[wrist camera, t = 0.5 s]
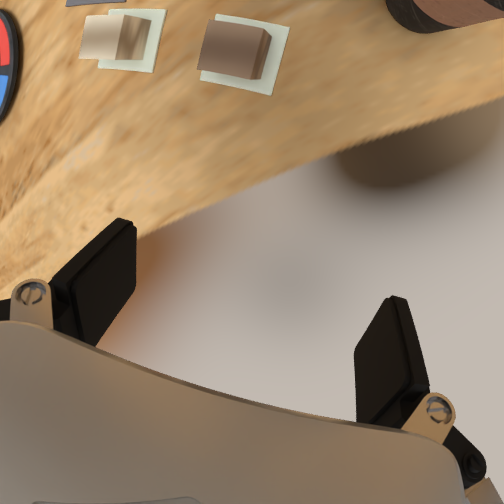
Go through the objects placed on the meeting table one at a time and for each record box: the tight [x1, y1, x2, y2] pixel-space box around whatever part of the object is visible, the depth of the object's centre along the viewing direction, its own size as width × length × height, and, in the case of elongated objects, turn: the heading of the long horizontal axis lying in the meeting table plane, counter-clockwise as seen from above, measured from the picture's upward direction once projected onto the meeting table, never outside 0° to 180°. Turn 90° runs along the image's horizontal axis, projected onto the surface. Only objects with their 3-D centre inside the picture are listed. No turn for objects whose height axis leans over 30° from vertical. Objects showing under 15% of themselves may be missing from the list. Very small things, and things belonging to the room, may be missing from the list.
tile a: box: [200, 14, 290, 96], centre depth 29 cm, size 8×8×1 cm
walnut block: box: [197, 19, 272, 80], centre depth 26 cm, size 5×5×6 cm
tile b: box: [98, 9, 167, 73], centre depth 29 cm, size 8×8×1 cm
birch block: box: [79, 14, 152, 60], centre depth 27 cm, size 5×5×6 cm
